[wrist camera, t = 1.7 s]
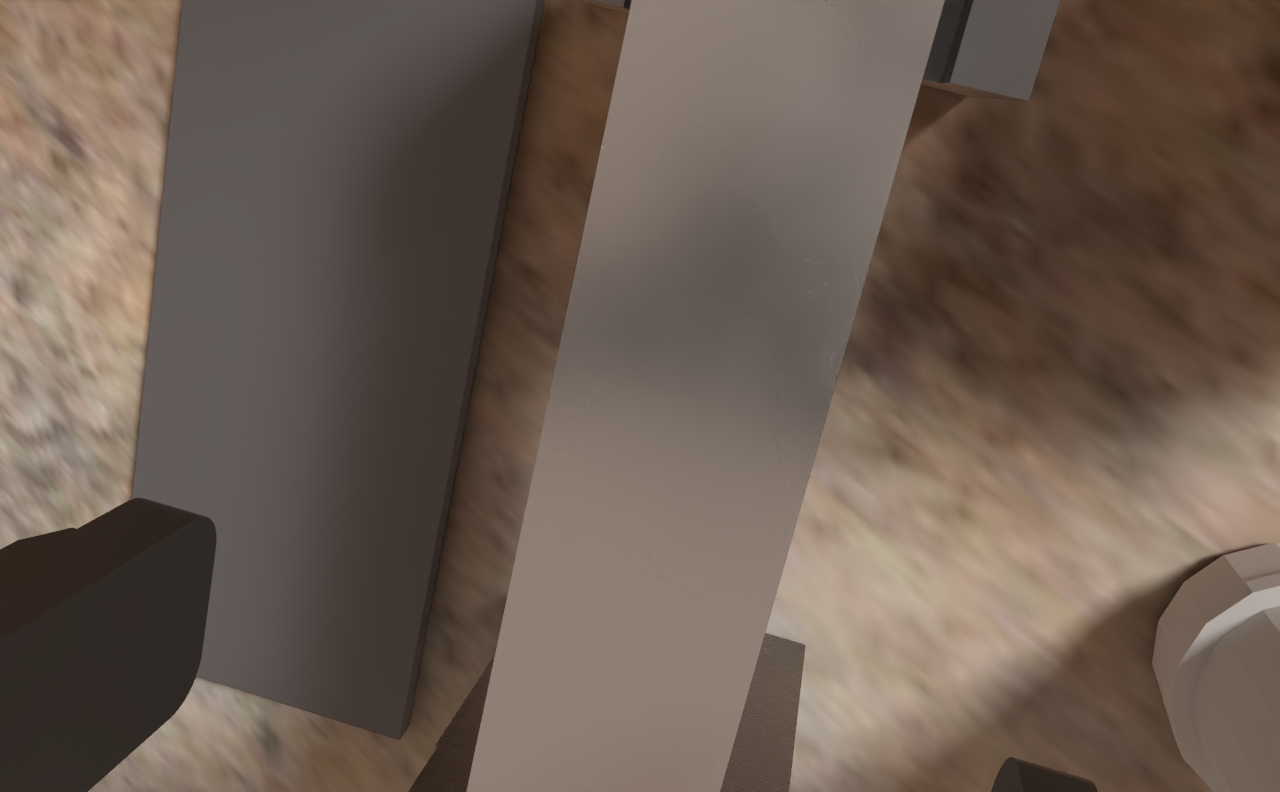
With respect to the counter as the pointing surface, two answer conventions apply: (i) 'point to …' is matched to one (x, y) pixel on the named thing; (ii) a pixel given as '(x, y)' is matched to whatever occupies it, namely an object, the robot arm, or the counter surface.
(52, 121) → the counter surface
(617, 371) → the rail
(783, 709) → the post
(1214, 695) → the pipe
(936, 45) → the post
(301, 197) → the mat
